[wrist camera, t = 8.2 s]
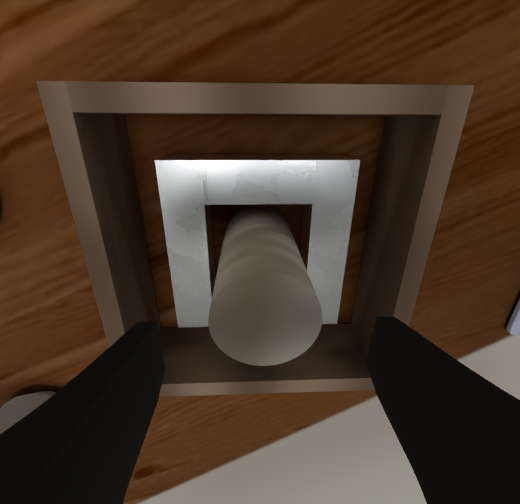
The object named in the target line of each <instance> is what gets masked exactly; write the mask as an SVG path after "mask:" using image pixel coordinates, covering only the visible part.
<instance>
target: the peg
mask: <svg viewBox="0 0 520 504" xmlns="http://www.w3.org/2000/svg"><path fill="white" fill-rule="evenodd" d="M322 320H323V318H322V309H321V305H320V303H319V300H318V298H317V295H316V293H315V290H314V287H313V285H312V282H311V280H310V277H309V275H308V272H307V270H306V267H305V265H304V262H303V260H302V257H301V255H300V252H299V250H298V247H297V245H296V242H295V240H294V237H293V235H292V232H291V230H290V227H289V225H288V222H287V220H286V218H285V216H284V214H283V213H282V212H281V211H280V210H279V209H278V208H277V207H275V206H273V205H271V204H244V205H242V206H240V207H238V208H237V209H236V210H235V211H234V212H233V213H232V214H231V216H230V217H229V219H228V221H227V225H226V229H225V234H224V239H223V245H222V250H221V255H220V260H219V265H218V270H217V275H216V280H215V285H214V291H213V296H212V301H211V306H210V311H209V318H208V325H209V331H210V334H211V336H212V339H213V340H214V342H215V344H216V345H217V346H218V347H219V349H221V350H222V351H223V352H224V353H225V354H226V355H228V356H229V357H231V358H233V359H235V360H237V361H239V362H242V363H245V364H250V365H257V366H270V365H277V364H281V363H284V362H288V361H290V360H292V359H294V358H296V357H298V356H300V355H301V354H302V353H304V352H305V351H306V350H307V349H308V348H310V346H311V345H312V344H313V343H314V342H315V340H316V338H317V337H318V335H319V333H320V330H321V327H322Z"/></svg>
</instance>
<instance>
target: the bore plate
mask: <svg viewBox="0 0 520 504" xmlns="http://www.w3.org/2000/svg"><path fill="white" fill-rule="evenodd" d="M155 166H156V173H157V180H158V187H159V194H160V201H161V209H162V216H163V223H164V230H165V237H166V244H167V251H168V258H169V266H170V273H171V280H172V287H173V294H174V301H175V308H176V316H177V323H178V327H209V325H208V318H209V311H210V306H211V301H212V296H213V291H214V285H215V280H216V275H215V260H214V245H213V231H212V216H211V205H241V204H303V214H302V229H301V244H300V255H301V257H302V260H303V262H304V265H305V267H306V270H307V272H308V275H309V277H310V280H311V282H312V285H313V287H314V290H315V293H316V295H317V298H318V300H319V303H320V305H321V309H322V318H323V320H322V324H337V321H338V314H339V307H340V300H341V293H342V285H343V278H344V271H345V264H346V257H347V250H348V243H349V236H350V229H351V222H352V215H353V208H354V201H355V194H356V187H357V180H358V173H359V166H360V160H359V159H356V158H353V157H350V156H347V155H242V154H168V155H165V156H163V157H161V158H159V159H156V160H155Z"/></svg>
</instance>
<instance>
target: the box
mask: <svg viewBox="0 0 520 504" xmlns="http://www.w3.org/2000/svg"><path fill="white" fill-rule="evenodd" d="M36 82H37V86H38V90H39V93H40V97H41V101H42V104H43V108H44V112H45V115H46V119H47V123H48V126H49V130H50V134H51V137H52V141H53V145H54V148H55V152H56V156H57V159H58V163H59V167H60V170H61V174H62V178H63V181H64V185H65V189H66V192H67V196H68V200H69V203H70V207H71V210H72V214H73V218H74V221H75V225H76V229H77V232H78V236H79V240H80V243H81V247H82V251H83V254H84V258H85V262H86V265H87V269H88V273H89V276H90V280H91V284H92V287H93V291H94V295H95V298H96V302H97V306H98V309H99V313H100V317H101V320H102V324H103V328H104V331H105V335H106V338H107V342H108V346H109V347H110V346H111V345H113V344H114V343H115V342H116V341H117V340H118V339H119V338H120V337H121V336H122V335H124V334H125V333H126V332H127V331H128V330H129V329H130V328H131V327H132V326H134V325H135V324H136V323H137V322H147V321H157V325H158V330H159V336H160V342H161V347H162V353H163V359H164V364H165V372H164V377H163V381H162V386H161V390H160V394H159V397H165V396H196V395H227V394H259V393H290V392H322V391H353V390H375V388H374V385H373V383H372V380H371V377H370V374H369V371H368V368H367V365H366V361H367V356H368V351H369V346H370V342H371V337H372V332H373V327H374V322H375V318H376V317H390V316H394V317H395V318H397V319H399V320H400V321H402V322H403V323H405V324H406V325H407V326H409V325H410V321H411V318H412V314H413V310H414V307H415V303H416V299H417V296H418V292H419V288H420V285H421V281H422V277H423V273H424V270H425V266H426V262H427V259H428V255H429V251H430V248H431V244H432V240H433V237H434V233H435V229H436V226H437V222H438V218H439V215H440V211H441V207H442V203H443V200H444V196H445V192H446V189H447V185H448V181H449V178H450V174H451V170H452V167H453V163H454V159H455V156H456V152H457V148H458V144H459V141H460V137H461V133H462V130H463V126H464V122H465V119H466V115H467V111H468V108H469V104H470V100H471V97H472V93H473V89H474V85H392V84H292V83H192V82H92V81H36ZM125 115H286V116H386V117H385V123H384V129H383V135H382V141H381V147H380V153H379V159H378V165H377V171H376V177H375V183H374V189H373V195H372V201H371V207H370V213H369V219H368V225H367V231H366V237H365V243H364V249H363V255H362V261H361V267H360V273H359V279H358V285H357V291H356V297H355V303H354V309H353V315H352V321H351V323H348V324H322V327H321V330H320V333H319V335H318V337H317V338H316V340H315V342H314V343H313V344H312V345H311V346H310V348H308V349H307V350H306V351H305V352H304V353H302V354H301V355H300V356H298V357H296V358H294V359H292V360H290V361H288V362H284V363H281V364H277V365H270V366H257V365H250V364H245V363H242V362H239V361H237V360H235V359H233V358H231V357H229V356H228V355H226V354H225V353H224V352H223V351H222V350H221V349H219V347H218V346H217V345H216V344H215V342H214V340H213V339H212V336H211V334H210V331H209V327H172V328H161V326H160V320H159V314H158V308H157V302H156V296H155V290H154V285H153V279H152V273H151V267H150V261H149V255H148V250H147V244H146V238H145V232H144V226H143V220H142V215H141V209H140V203H139V197H138V191H137V185H136V179H135V174H134V168H133V162H132V156H131V150H130V144H129V139H128V133H127V127H126V121H125Z"/></svg>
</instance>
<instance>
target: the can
mask: <svg viewBox="0 0 520 504" xmlns="http://www.w3.org/2000/svg"><path fill="white" fill-rule="evenodd" d="M55 393H56V392H53V391H40V392H36V393H32V394H26V395H22V396H18V397H14V398H13V399H11V400H10V401H8V402H6V403H5V404H4V405H3V406H2V407H1V408H0V434H1V433H3V432H4V431H5V430H7V429H8V428H10V427H11V426H12V425H14V424H15V423H17V422H18V421H19V420H21V419H22V418H24V417H25V416H26V415H28V414H29V413H30V412H32V411H33V410H34V409H36V408H37V407H38V406H40V405H41V404H42V403H44V402H45V401H46V400H48V399H49V398H50V397H51V396H53V395H54V394H55Z"/></svg>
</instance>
